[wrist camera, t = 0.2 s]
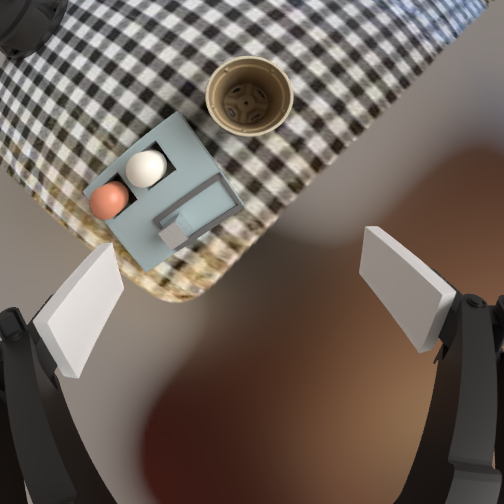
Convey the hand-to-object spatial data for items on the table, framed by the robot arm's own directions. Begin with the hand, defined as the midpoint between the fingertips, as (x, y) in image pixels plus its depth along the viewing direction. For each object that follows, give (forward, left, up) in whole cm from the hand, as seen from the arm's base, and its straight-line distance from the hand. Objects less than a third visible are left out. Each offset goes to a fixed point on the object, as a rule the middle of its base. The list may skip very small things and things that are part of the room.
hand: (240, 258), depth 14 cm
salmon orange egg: (-8, -15, -24) cm, 29 cm away
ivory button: (-8, -8, -24) cm, 27 cm away
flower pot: (-8, +7, -27) cm, 29 cm away
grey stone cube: (+1, -10, -24) cm, 26 cm away
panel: (-4, -10, -27) cm, 29 cm away
